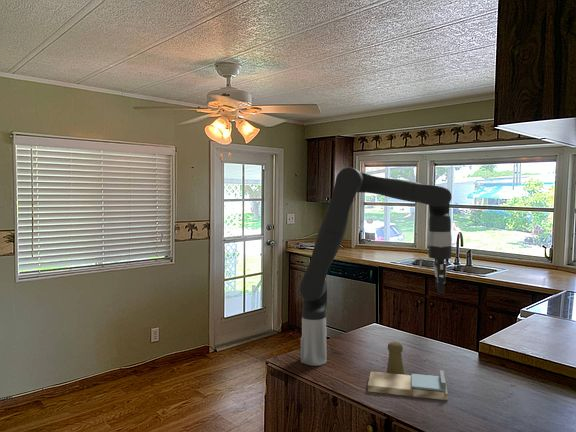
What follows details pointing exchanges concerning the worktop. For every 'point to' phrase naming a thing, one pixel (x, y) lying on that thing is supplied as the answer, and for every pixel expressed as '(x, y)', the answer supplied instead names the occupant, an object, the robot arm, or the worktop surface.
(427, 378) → the cover
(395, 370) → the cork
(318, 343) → the robot arm
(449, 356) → the worktop surface
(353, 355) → the worktop surface
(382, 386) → the board
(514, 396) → the worktop surface
